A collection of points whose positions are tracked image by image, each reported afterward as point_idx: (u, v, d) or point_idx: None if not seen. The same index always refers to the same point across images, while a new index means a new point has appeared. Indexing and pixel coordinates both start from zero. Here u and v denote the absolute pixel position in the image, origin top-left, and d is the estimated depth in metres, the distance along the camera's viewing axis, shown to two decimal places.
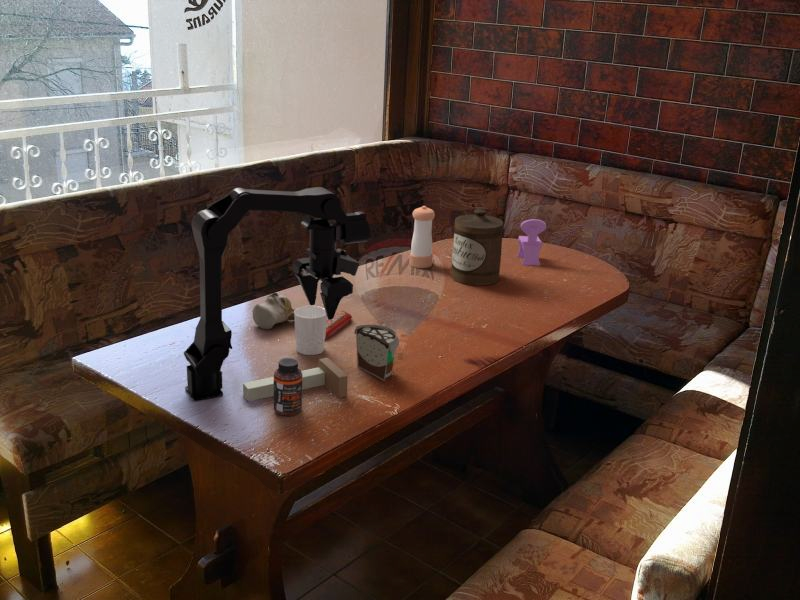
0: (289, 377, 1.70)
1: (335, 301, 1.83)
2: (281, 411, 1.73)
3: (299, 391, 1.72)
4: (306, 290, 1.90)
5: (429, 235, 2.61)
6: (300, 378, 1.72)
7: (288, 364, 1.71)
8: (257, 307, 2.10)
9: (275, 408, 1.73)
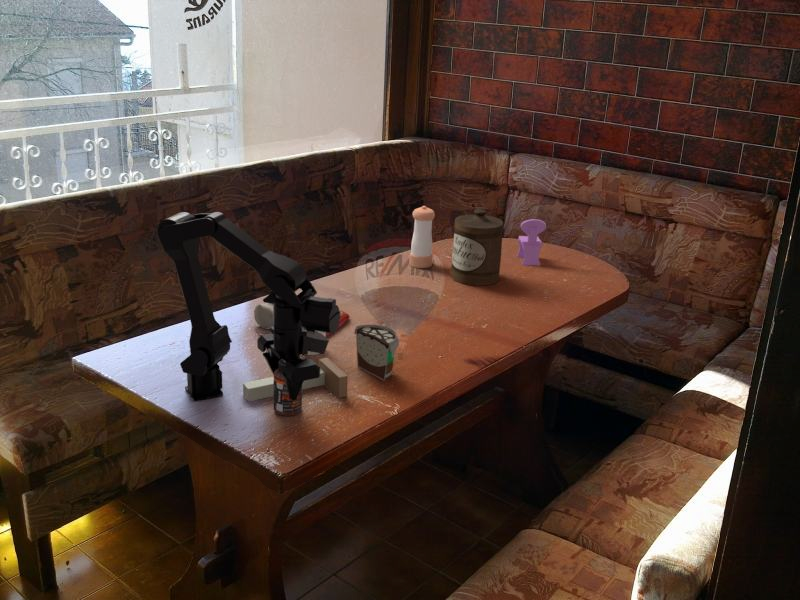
0: None
1: (298, 381, 1.69)
2: (281, 411, 1.73)
3: None
4: (274, 371, 1.75)
5: (429, 235, 2.61)
6: None
7: None
8: (259, 307, 2.10)
9: (275, 408, 1.73)
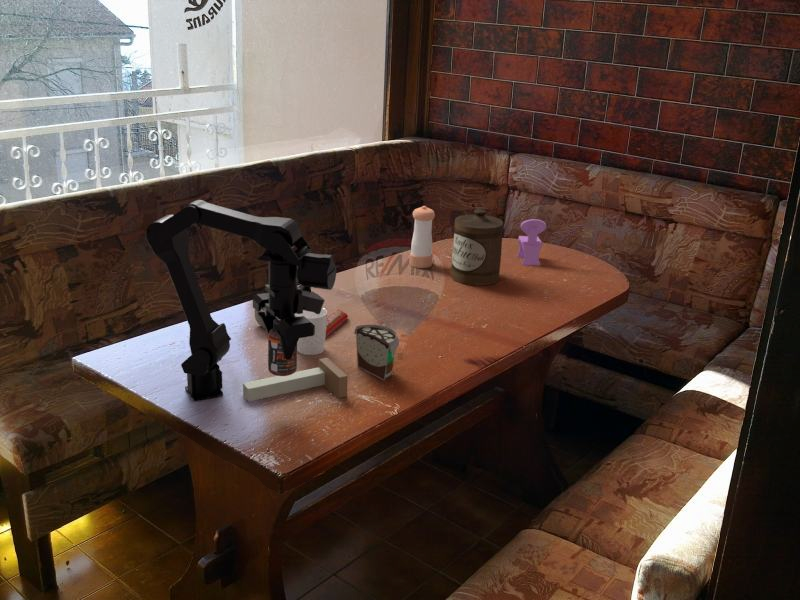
0: None
1: (293, 340, 1.68)
2: (276, 371, 1.71)
3: (294, 351, 1.71)
4: None
5: (429, 235, 2.61)
6: None
7: None
8: None
9: (270, 368, 1.72)
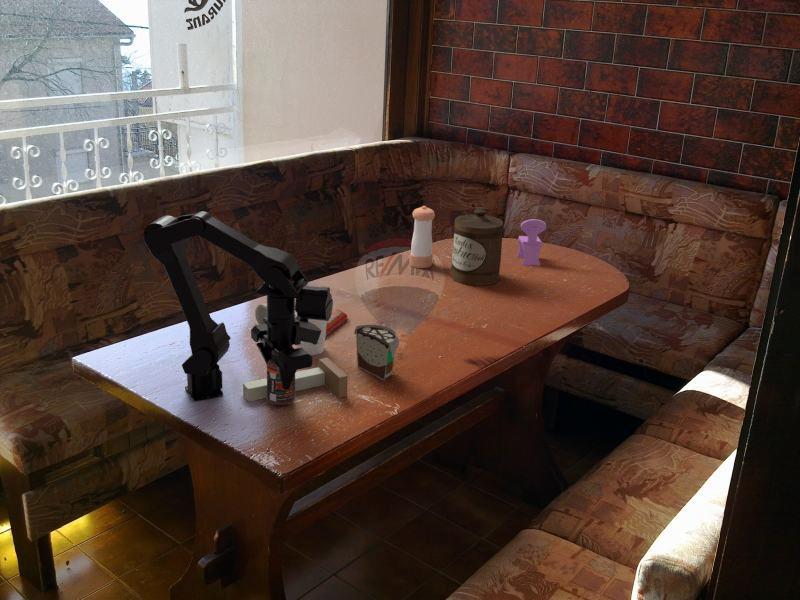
0: None
1: (291, 371, 1.72)
2: (274, 401, 1.75)
3: (292, 381, 1.75)
4: None
5: (429, 235, 2.61)
6: None
7: None
8: (260, 307, 2.10)
9: (269, 398, 1.76)
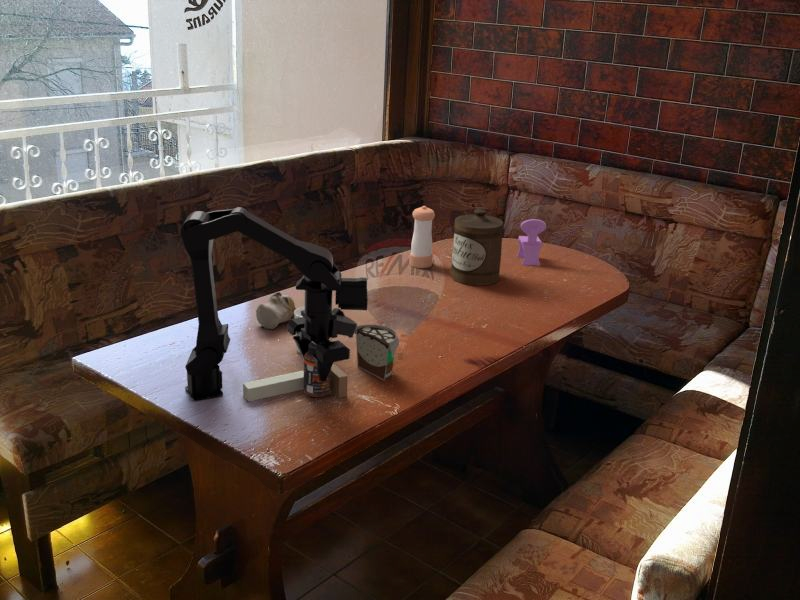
0: None
1: (328, 363, 1.76)
2: (311, 392, 1.79)
3: None
4: (304, 354, 1.81)
5: (429, 235, 2.61)
6: None
7: None
8: (261, 307, 2.10)
9: (305, 390, 1.80)
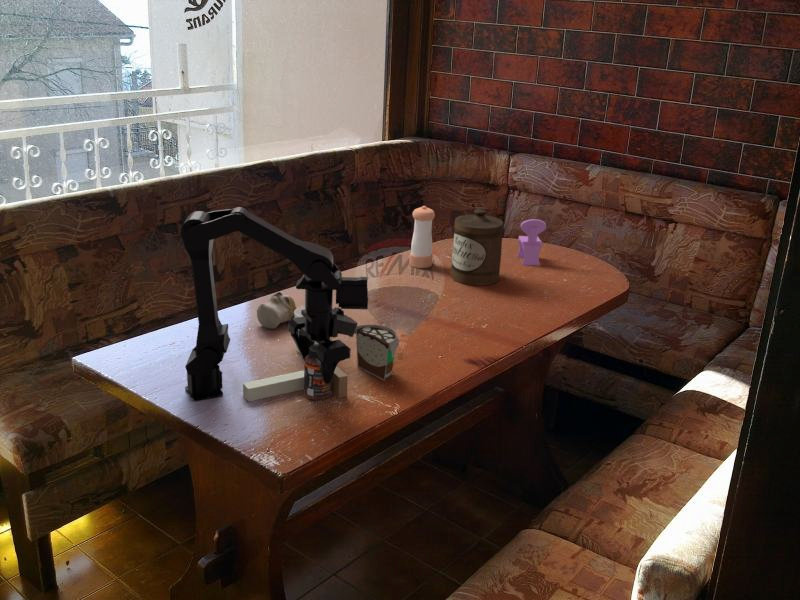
0: None
1: (332, 365, 1.75)
2: (312, 395, 1.80)
3: None
4: (302, 351, 1.83)
5: (429, 235, 2.61)
6: None
7: None
8: (262, 307, 2.10)
9: (306, 393, 1.80)
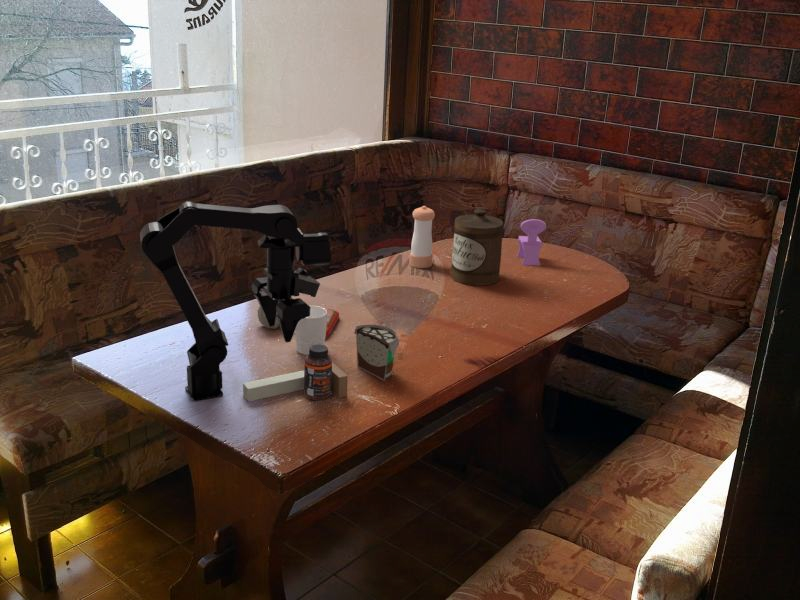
0: (320, 362, 1.77)
1: (292, 323, 1.76)
2: (312, 395, 1.80)
3: (329, 376, 1.79)
4: (265, 311, 1.83)
5: (429, 235, 2.61)
6: (330, 363, 1.79)
7: (319, 349, 1.77)
8: None
9: (306, 393, 1.80)
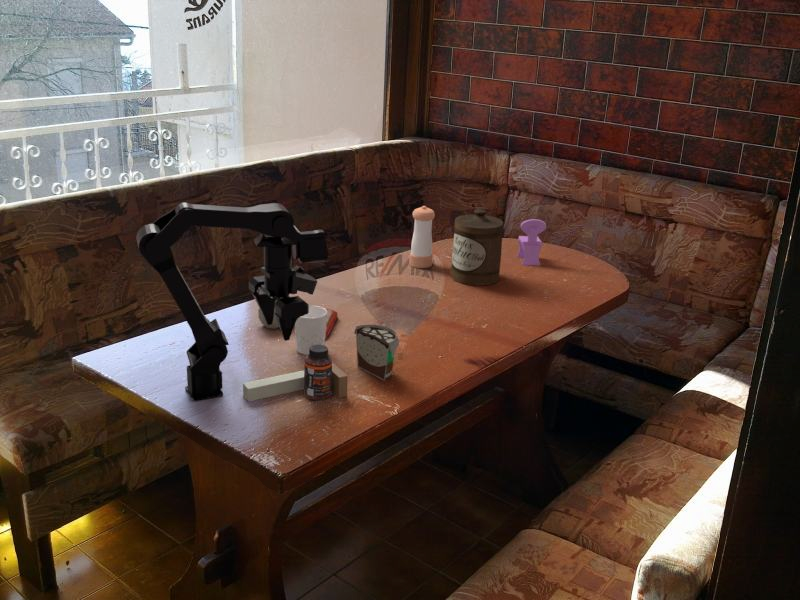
0: (320, 362, 1.77)
1: (291, 321, 1.76)
2: (312, 395, 1.80)
3: (329, 376, 1.79)
4: (263, 309, 1.84)
5: (429, 235, 2.61)
6: (330, 363, 1.79)
7: (319, 349, 1.77)
8: None
9: (306, 393, 1.80)
